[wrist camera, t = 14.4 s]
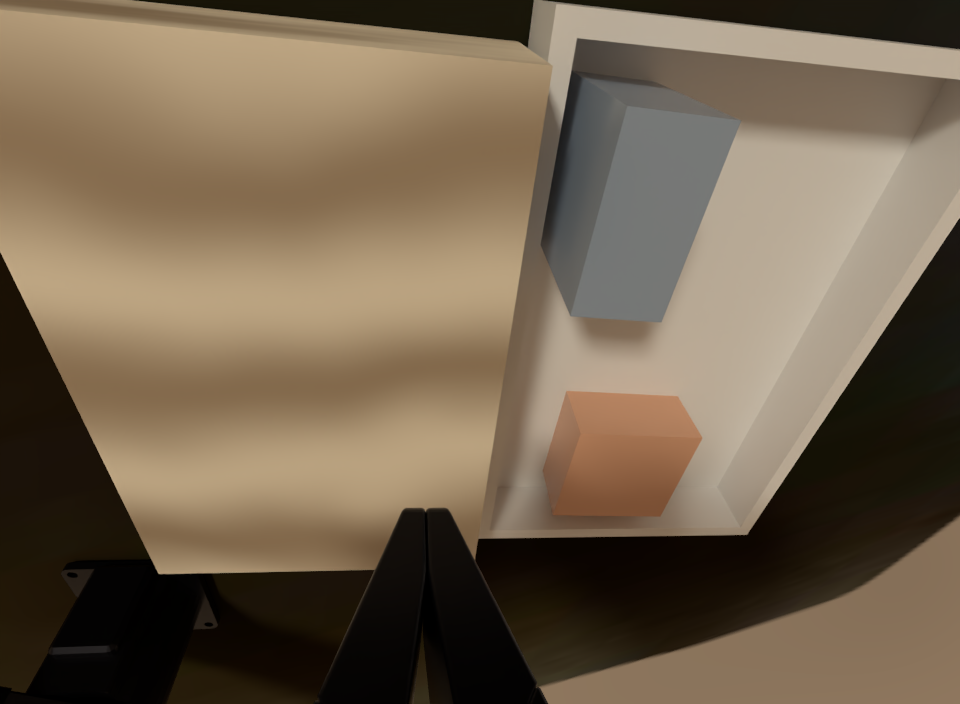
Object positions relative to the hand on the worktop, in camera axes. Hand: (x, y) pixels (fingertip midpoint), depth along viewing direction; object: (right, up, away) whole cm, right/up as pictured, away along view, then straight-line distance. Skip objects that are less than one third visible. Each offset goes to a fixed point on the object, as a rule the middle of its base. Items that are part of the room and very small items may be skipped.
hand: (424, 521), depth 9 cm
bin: (+8, +4, +11) cm, 14 cm away
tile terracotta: (+7, -2, +12) cm, 14 cm away
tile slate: (+3, +8, +4) cm, 9 cm away
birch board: (-5, +5, +9) cm, 12 cm away
